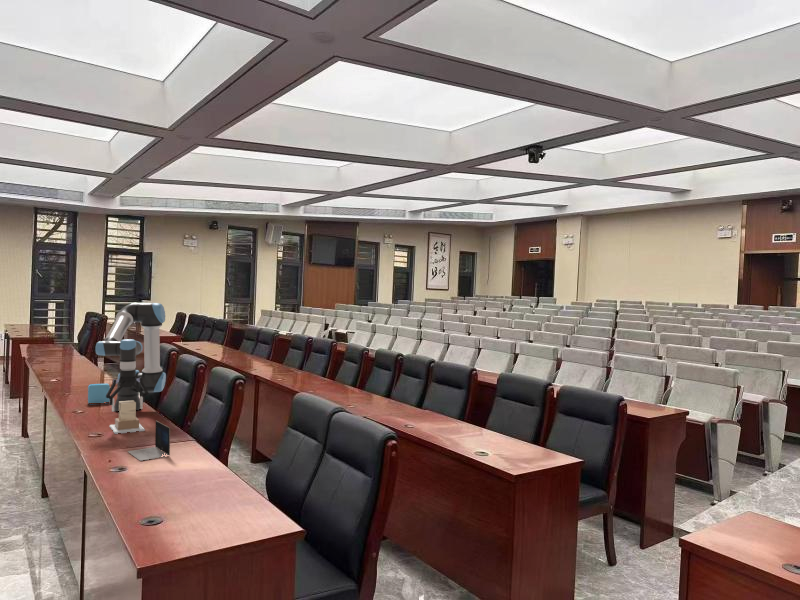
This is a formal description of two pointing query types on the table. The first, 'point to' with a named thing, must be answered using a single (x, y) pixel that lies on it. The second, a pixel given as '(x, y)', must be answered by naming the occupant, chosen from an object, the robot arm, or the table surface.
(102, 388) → the data package
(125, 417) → the maple block
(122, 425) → the white tray
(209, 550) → the table surface
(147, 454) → the laptop
